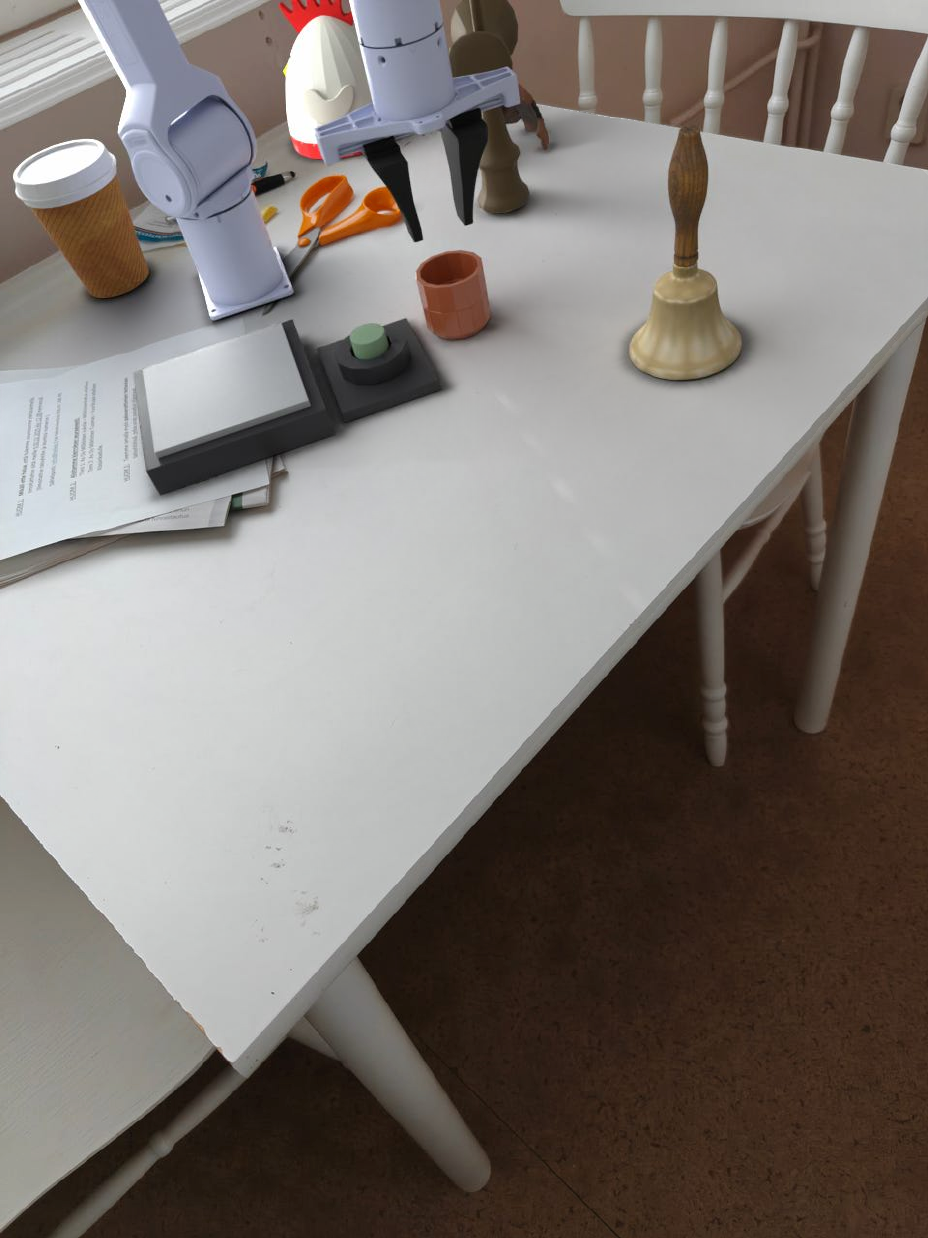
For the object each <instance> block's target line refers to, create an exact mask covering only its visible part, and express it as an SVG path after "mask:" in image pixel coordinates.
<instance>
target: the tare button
mask: <svg viewBox="0 0 928 1238" xmlns="http://www.w3.org/2000/svg"><path fill="white" fill-rule="evenodd" d="M382 326H383V325H381V324H379V323H365V324H362V325H359V326H357V327H355V328H354V329H353V330H352V331H351V333H350V334H349V335H350V341H351V344H352V348H353V351H354V354H355V356H356V357H357V358H358V359H373V358H376V357H379V356H381V355H382V354H384V353H385V352H386V351H388V348H389V344H388V341H387V337H386V334H385V330H384V328H383V327H382Z"/></svg>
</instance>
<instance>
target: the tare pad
mask: <svg viewBox="0 0 928 1238" xmlns="http://www.w3.org/2000/svg"><path fill="white" fill-rule="evenodd" d="M381 326H382V327H383V328H384V330H385V334H386V337H387V341H388V344H389V348H388V351H386V352H385V353H384V354H382V355H381V356H379V357H376V358H373V359H358V358H357V357H356V356H355V354H354V351H353V348H352V344H351V341H350V334H349V335H347V336H346V337H345V338H342V339H339V340H337V341H334V342H330V343H327V344H325V345H322V346H319V347H316V352H317V354H318V357H319V360H320V362H321V365H322V367H323V370H324V373H325V376H326V378H327V381H328V383H329V386H330V389H331V391H332V393H333V397H334V399H335V401H336V404H337V406H338V409H339V411H340V414H341V417H342V419H343V422H344V423H348V422H351V421H354V420H357V419H360V418H363V417H366V416H368V415H371V414H374V413H378V412H380V411H383V410H386V409H389V408H391V407H395V406H397V405H400V404H404V403H406V402H409V401H412V400H415V399H418V398H421V397H424V396H427V395H430V394H433V393H435V392H438V391H441V390H442V388H443V387H442V383H441V380H440V378H439V376H438V374H437V372H436V370H435V368H434V367H433V365H432V363H431V361H430V358H429V357H428V355H427V354H426V351H425V350H424V348H423V346H422V344H421V342H420V341H419V339H418V336H417V335H416V332H415V331H414V330H413V327H412V326H411V324H410V322H409V320H408V318H406V317H405V318H402V319H399V320H396V321H392V322H390V323H386V324H384V325H381Z"/></svg>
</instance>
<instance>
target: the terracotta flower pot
mask: <svg viewBox="0 0 928 1238" xmlns="http://www.w3.org/2000/svg"><path fill="white" fill-rule="evenodd" d="M414 273H415V280H416V284H417V290H418V293H419V297H420V303H421V306H422V310H423V315H424V319H425V323H426V327H427V329H428V330H429V331H430V332H432V333H433V334H434V335H436V336H437V337H438V338H441V339H445V340H455V341H456V340H462V339H466V338H469V337H472V336H475V335H477V333H479V332H480V331H482V330H483V329H484V328H485V326H486V325H487V324H488V321H489V320H490V318H491V316H492V310H491V304H490V299H489V294H488V288H487V282H486V276H485V270H484V264H483V259H482V257H481V256H479V255H478V254H476V253H475V252H474V251H469V250H463V249H457V250H446V251H443V252H440V253H438V254H434V255H432V256H430V257H429V258H427V259H425V260H424V261H422V262H421V263H420V264H419V265H418V267H417V269H416V270H415V272H414Z"/></svg>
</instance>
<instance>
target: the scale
mask: <svg viewBox="0 0 928 1238" xmlns="http://www.w3.org/2000/svg"><path fill="white" fill-rule="evenodd" d="M307 356H308V355H307V353H306V350H305V348H304V345H303V342H302V340H301V337H300V335H299V332H298V330H297V327H296V323H295V321H294V319H293V318H291V319H288V320H285V321H283V322H282V321H281V322H277V323H274V324H272V325H269V326H265V327H262V328H259V329H257V330H253V331H250V332H247V333H244V334H241V335H239V336H236V337H233V338H229V339H227V340H224V341H221V342H217V343H215V344H212V345H209V346H206V347H202V348H199V349H197V350H193V351H191V352H188V353H185V354H182V355H179V356H175V357H173V358H170V359H167V360H164V361H161V362H158V363H155V364H152V365H149V366H146V367H142V369H139V370H136V371H133V374H132V375H133V380H134V387H135V388H134V389H135V396H136V404H137V405H136V406H137V413H138V419H139V428H140V434H141V442H142V450H143V457H144V465H145V472H146V474H147V476H148V477H149V479H150V481H151V483H152V484H153V486H154V488H155V489H156V491H157V493H158V495H160V496H161V495H164V494H167V493H170V492H173V491H176V490H178V489H181V488H183V487H187V486H189V485H192V484H195V483H199V482H201V481H204V480H207V479H210V478H212V477H216V476H219V475H222V474H224V473H227V472H231V471H233V470H235V469H238V468H239V469H240V468H242V467H245V466H247V465H250V464H253V463H257V462H259V461H262V460H265V459H268V458H271V457H274V456H277V455H279V454H282V453H285V452H286V453H287V452H289V451H291V450H294V449H297V448H300V447H303V446H306V445H309V444H311V443H314V442H317V441H320V440H323V439H325V438H329V437H331V436H334V435H336V432H335V429H334V427H333V424H332V420H331V418H330V415H329V412H328V410H327V407H326V405H325V401H324V399H323V396H322V394H321V391H320V388H319V386H318V383H317V379H316V377H315V375H314V371H313V370H312V367H311V365H310V364H311V363H310V362H309V359H308V357H307Z"/></svg>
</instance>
